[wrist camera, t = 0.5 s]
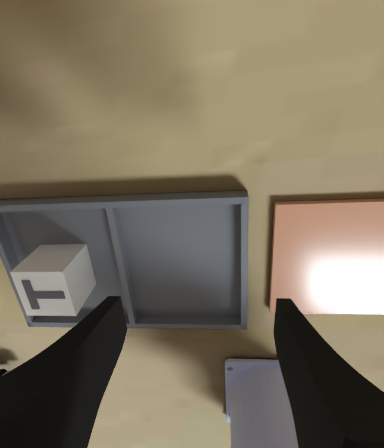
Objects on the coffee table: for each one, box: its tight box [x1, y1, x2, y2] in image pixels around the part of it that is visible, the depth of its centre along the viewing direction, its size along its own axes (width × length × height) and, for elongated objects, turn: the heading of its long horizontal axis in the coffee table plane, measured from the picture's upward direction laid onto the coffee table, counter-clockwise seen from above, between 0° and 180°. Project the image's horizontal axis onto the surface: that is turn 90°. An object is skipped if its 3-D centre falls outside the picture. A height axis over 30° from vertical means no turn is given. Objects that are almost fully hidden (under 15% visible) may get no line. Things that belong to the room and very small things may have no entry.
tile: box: [269, 198, 384, 314], centre depth 23 cm, size 10×10×1 cm
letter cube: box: [10, 244, 96, 316], centre depth 23 cm, size 4×4×4 cm
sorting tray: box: [0, 190, 249, 330], centre depth 24 cm, size 12×20×2 cm, turn 94°
